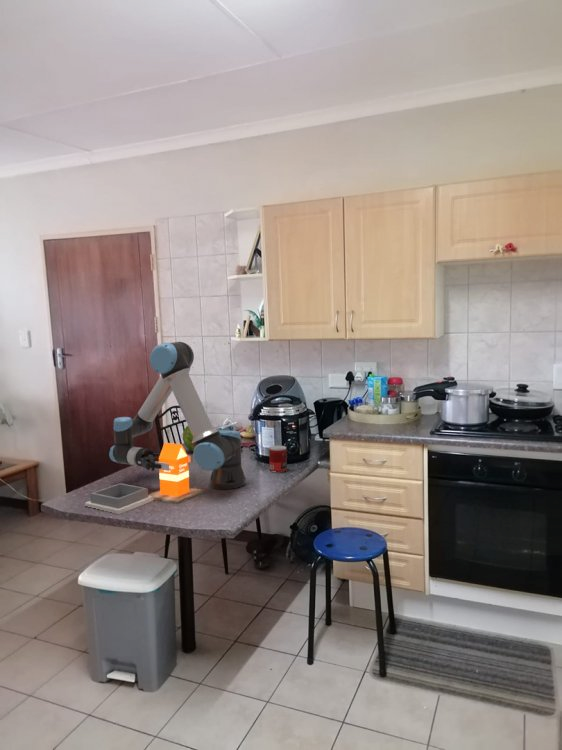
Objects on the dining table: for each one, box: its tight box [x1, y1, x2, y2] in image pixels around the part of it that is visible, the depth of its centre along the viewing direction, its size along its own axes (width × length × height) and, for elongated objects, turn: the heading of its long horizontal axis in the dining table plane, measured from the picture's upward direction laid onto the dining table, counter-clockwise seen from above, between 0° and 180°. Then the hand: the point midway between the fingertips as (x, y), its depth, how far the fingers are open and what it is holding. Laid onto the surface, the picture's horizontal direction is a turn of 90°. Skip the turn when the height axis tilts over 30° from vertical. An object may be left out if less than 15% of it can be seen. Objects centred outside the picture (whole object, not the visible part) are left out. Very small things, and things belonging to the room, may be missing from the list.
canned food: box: [268, 445, 288, 472], centre depth 260 cm, size 8×8×11 cm
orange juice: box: [158, 442, 190, 497], centre depth 226 cm, size 8×9×20 cm
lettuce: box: [182, 425, 194, 452], centre depth 304 cm, size 17×23×16 cm
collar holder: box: [84, 482, 155, 515], centre depth 218 cm, size 18×18×5 cm
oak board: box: [148, 487, 204, 504], centre depth 227 cm, size 16×16×1 cm
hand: (180, 463), depth 224 cm, fingers open, 13 cm apart
